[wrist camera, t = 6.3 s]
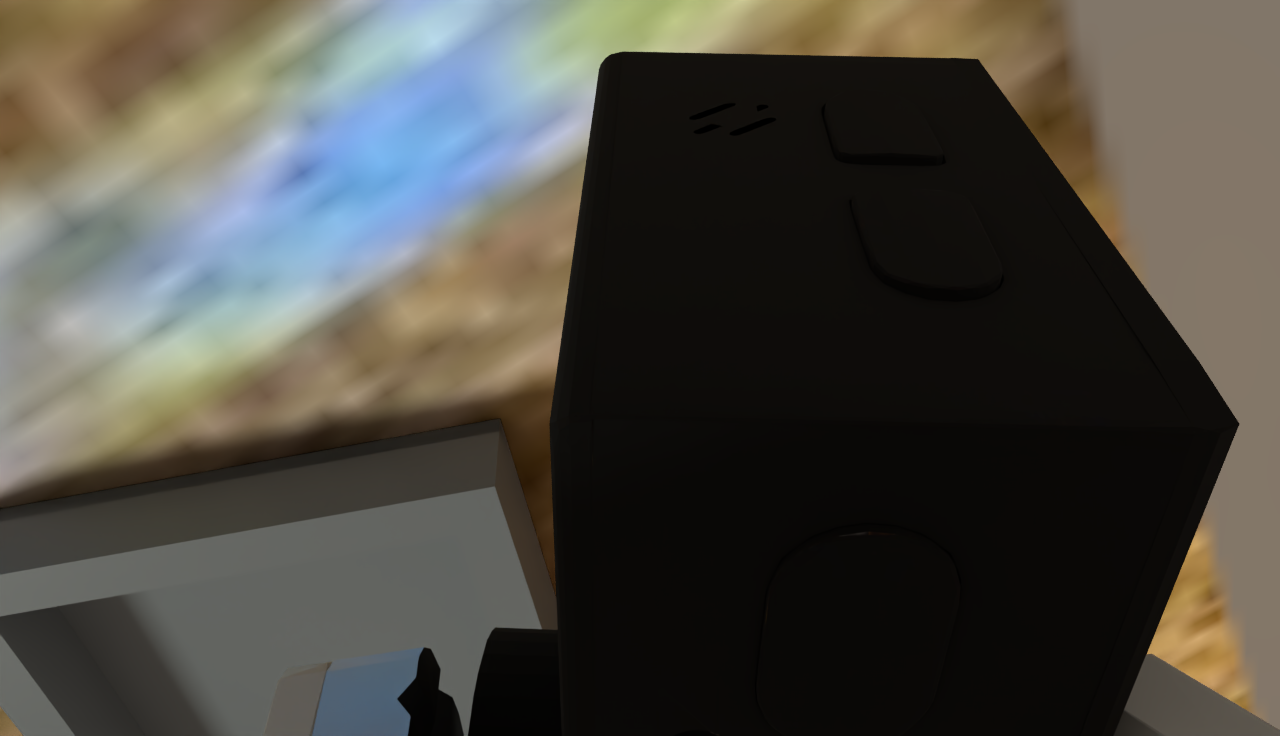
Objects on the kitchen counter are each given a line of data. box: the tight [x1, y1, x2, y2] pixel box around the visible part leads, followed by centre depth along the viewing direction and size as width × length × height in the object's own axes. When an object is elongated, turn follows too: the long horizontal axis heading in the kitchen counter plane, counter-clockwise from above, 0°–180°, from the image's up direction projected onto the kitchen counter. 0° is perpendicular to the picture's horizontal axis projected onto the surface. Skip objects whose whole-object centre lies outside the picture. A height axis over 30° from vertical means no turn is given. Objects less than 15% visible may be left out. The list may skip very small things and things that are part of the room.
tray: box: [0, 419, 558, 736], centre depth 29 cm, size 15×13×2 cm
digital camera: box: [468, 52, 1239, 736], centre depth 12 cm, size 10×5×7 cm, turn 179°
